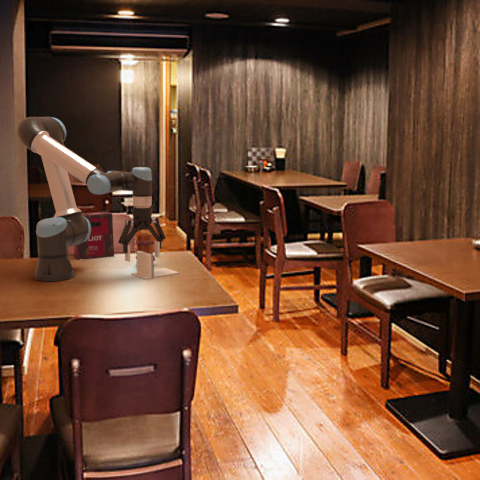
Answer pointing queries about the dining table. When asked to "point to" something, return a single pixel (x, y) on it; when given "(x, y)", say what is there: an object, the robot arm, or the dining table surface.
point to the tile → (145, 263)
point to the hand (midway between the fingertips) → (142, 259)
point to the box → (97, 237)
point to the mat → (157, 273)
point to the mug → (145, 242)
